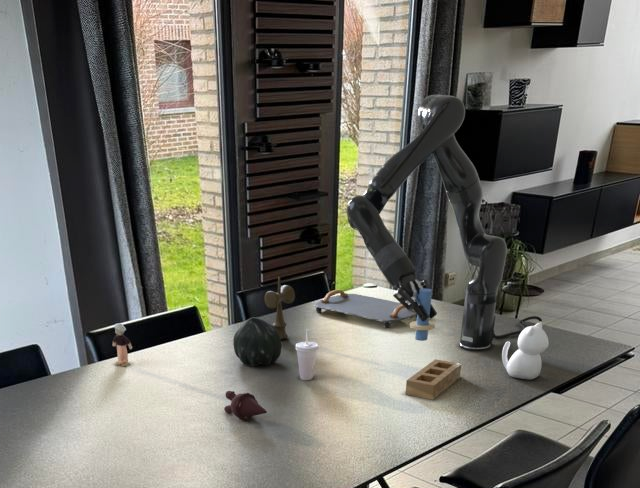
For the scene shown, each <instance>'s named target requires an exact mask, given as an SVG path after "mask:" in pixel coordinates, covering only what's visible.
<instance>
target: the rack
mask: <svg viewBox="0 0 640 488" xmlns="http://www.w3.org/2000/svg"><path fill="white" fill-rule="evenodd" d="M461 372H462V363H460V362H453V361H447V360H441V359H436V358H435V359H433V360H432V361H431V362H429V363H428V364H427V365H426V366H424V367H423V368H421V369H420V370H419V371H417V372H416V373H414V374H413V375H412V376H410V377H408V379H406V384H405V395H408V396H412V397H418V398H423V399H427V400H432V401H433V400H434V399H436V398H437V397H438V396H439V395H441V393H443V392H444V391H445V390H447V389H448V388H449V387H450V386H452V384H454V383H455V382H456V381H457V380H459V379H460V377H461Z"/></svg>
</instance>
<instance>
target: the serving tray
mask: <svg viewBox="0 0 640 488" xmlns="http://www.w3.org/2000/svg"><path fill="white" fill-rule="evenodd" d="M336 294H337V295H336ZM408 305H409V304H408ZM313 308H315V312H316V313H318V314H320V313H321V312H322V311H323V310H326V311H331V312H335V313H340V314H344V315H349V316H353V317H359V318H362V319H366V320H367V319H368V320H371V321H376V322H380V323H383V327H384V328H385V329H389V328H390V327H391V323H396V322H399V321H404V320H407V319H411V318H414V317H415V318H417V313H416V312H415V311H413V310H412V309H410V310H407V309H406V308H405V307H404V306H403V305H402V304H401V303H400V302H399V301H393V300H390V299H389V300H388V299H383V298H378V297H374V296H367V295H362V294H357V293H347V292H344V291H343V289H333V290H331V291H329V292H328V293H326V295H325V296H324V298H323V299H321V300H319V301H317V302H316V303H314V304H313Z"/></svg>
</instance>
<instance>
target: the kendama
mask: <svg viewBox="0 0 640 488" xmlns="http://www.w3.org/2000/svg"><path fill="white" fill-rule="evenodd" d="M295 298H296V294H295V290H294V288H293V287H292V286H291V285H289V284H284V285H281V277H280V276H278V278H277V292H275V291H273V290H268V291H267V292H266V293H265V294H264V304H265V305H266V307H267V308H268V309H276V314H275V318H274V319H275V320H274V322H273V324H272V326H274V327H275V328H276V329H277V330H278V332H279V335H280V338H281V341H282V340H286V339H287V338H289V337H288V336H289V335H288V334H287V332H286V326H287V322H286V321H285V319H284V313H283V305H282V303H284V304H287V305H289V304H292V303H293V302H294V301H295Z"/></svg>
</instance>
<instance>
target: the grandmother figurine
mask: <svg viewBox="0 0 640 488" xmlns="http://www.w3.org/2000/svg"><path fill="white" fill-rule="evenodd" d="M113 327H114V333H115V335H114V337H113V339H112V347H116V352H117V353H116V355H117V361H115V363H114V364H115V365H116V366H119V365H121V367H128V366H129V365H130V362H129V355H128V349H129V350H132V349H133V346H132V343H131V341H130V339H129V338H128V337H126V336H125V335H124V334H125V331H127V328H126V326H124V325H123V324H122V323H115V324H114V325H113ZM127 346H128V349H127Z"/></svg>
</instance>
